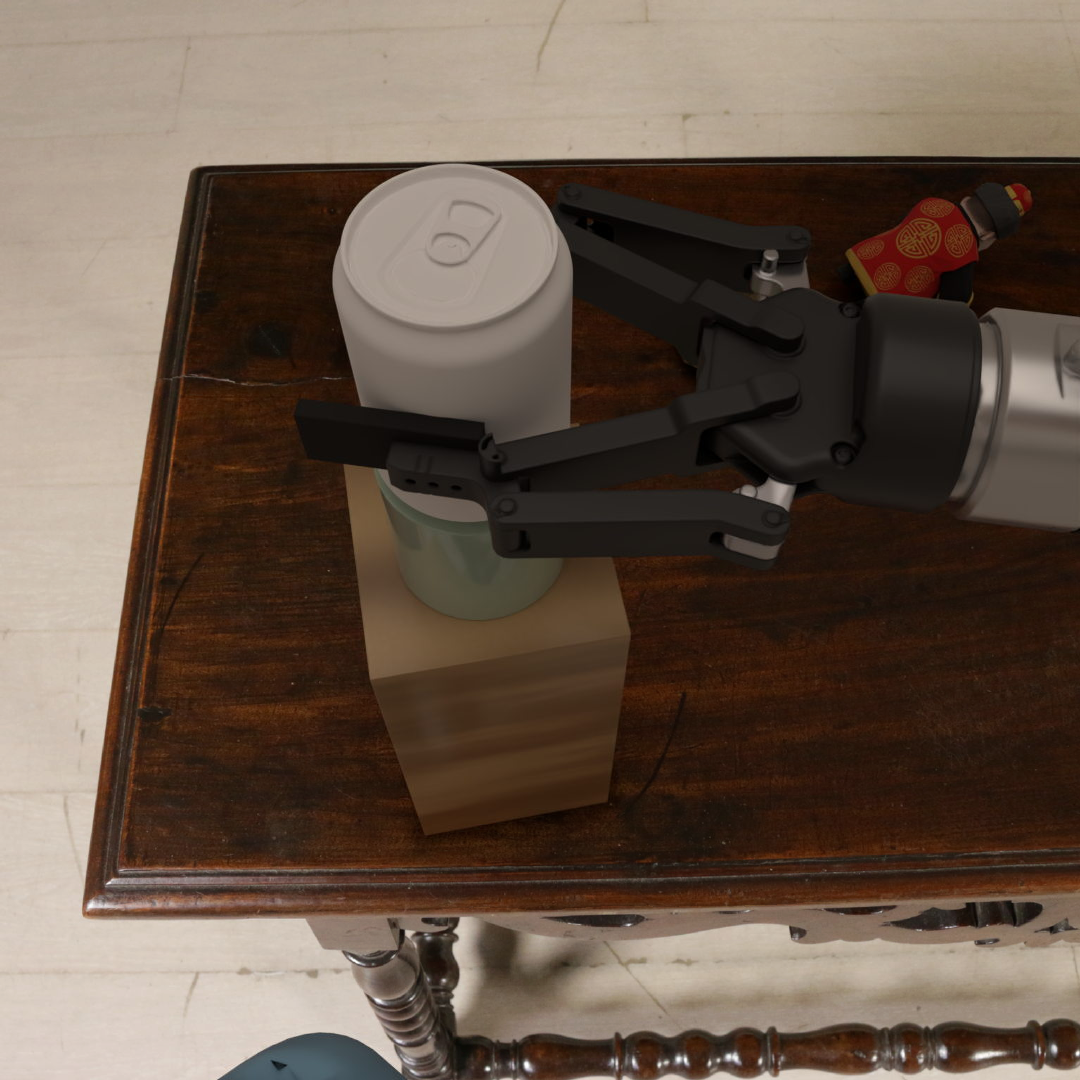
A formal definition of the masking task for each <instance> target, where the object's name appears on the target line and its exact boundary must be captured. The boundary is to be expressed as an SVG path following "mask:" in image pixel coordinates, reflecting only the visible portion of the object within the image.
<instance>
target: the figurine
mask: <svg viewBox="0 0 1080 1080" xmlns="http://www.w3.org/2000/svg"><path fill="white" fill-rule="evenodd" d="M972 194H973V195H972V197H971V196H966V197H964V198H963V199H962V200H961V201H960V203H959V202H958V201H956V202H954V203H953V202H951V201H949V200H947V199H943V198H938V197H932V196H931V197H927V198H924V199H923V200H921V201H919V202H918V203H917V204H915V205H914V206H912V207H911V208H910V209H908V210H907V211H906V212H904V213H903V214H902V215H901V217H900V218H899V220H898V222H897V224H896V226H895V227H894V228H892V229H890V230H886V231H885V232H882V233H880V234H877V235H874V236H872V237H869V238H867V239H864V240H862V241H860V242H858V243H856V244H854V245H853V246H851V247H850V248H848V249H847V250H846V251H845V253H844V255H845V258H846V259H847V260H848V261H849V263H844V264H841V265H840V266H838V267H836V268H835V271H836V273H837V274H838V277H839V279H840V280H841V283H842V284H843V285H844V286H845V287H849V286H851V285H853V284H854V283H855V282H856V278H857V280H858V283H859V285H860V287H861V289H862V291H863V293H864V295H865V298H868V297H869V296H871V295H873V294H876V293H890V294H899V295H907V296H916V297H924V298H932V299H933V297H934V296H935V295H936V294H937V295H936V298H935V299H941V300H949V301H958V302H964V303H966V304H967V305H968V306H969V307H970V306H971V304H972V302H973V300H974V294H975V293H974V278H975V277H974V276H975V275H974V273H975V264H976V263H978V262H979V260H980V257H979V252H980V251H984V250H986V249H988V248H990V246H991V245H993V243H994V242H995V241H996V240H999V241H1000V240H1004V239H1006V238H1008V237H1011V236H1013V235H1015V234H1016V233H1017V232H1018V231H1019V228H1020V223H1021V217H1022V216H1024V215H1025V214H1026V213H1027V212H1029V211H1030V210H1031V208H1032V207H1033V206H1032V205H1033V198H1032V195H1031V191H1030V190H1029V189H1028V188H1027V186H1025V185H1024V184H1023V183H1012V184H1010V185H1006V186H1005V187H1004V186H1003V185H1002V184H1000V183H998V182H995V181H994V182H987V181H986V182H985V183H983V184H982V185H980V186H979V187H978V188H976V189H975V190H973V193H972Z"/></svg>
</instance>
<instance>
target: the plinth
mask: <svg viewBox="0 0 1080 1080" xmlns="http://www.w3.org/2000/svg"><path fill="white" fill-rule="evenodd" d="M577 426H581V425H580V423H579V422H576V423H570V428H572V427H577ZM343 472H344V480H345V489H346V496H347V504H348V505H347V506H348V513H349V523H350V528H351V529H350V530H351V537H352V546H353V553H354V563H355V570H356V571H355V572H356V578H357V585H358V596H359V602H360V603H359V604H360V611H361V621H362V627H363V636H364V644H365V651H366V660H367V668H368V676H369V681H370V684H371V687H372V690H373V693H374V695H375V699H376V701H377V704H378V706H379V710H380V712H381V715H382V718H383V721H384V724H385V727H386V730H387V732H388V735H389V738H390V741H391V744H392V747H393V749H394V752H395V754H396V758H397V761H398V763H399V764H398V765H399V766H400V769H401V772H402V775H403V777H404V781H405V783H406V786H407V789H408V792H409V795H410V798H411V800H412V804H413V806H414V809H415V812H416V814H417V818H418V820H419V823H420V827H421V829H422V832H423V835H424V836H427V837H428V836H430V835H436V834H442V833H443V834H444V833H447V832H454V831H458V830H464V829H470V828H475V827H479V826H486V825H492V824H496V823H501V822H507V821H513V820H518V819H523V818H528V817H534V816H539V815H545V814H551V813H557V812H561V811H567V810H572V809H577V808H582V807H588V806H593V805H599V804H603V803H604V804H605V803H608V800H609V793H610V786H611V780H612V772H613V765H614V757H615V751H616V744H617V736H618V729H619V722H620V715H621V708H622V700H623V694H624V687H625V681H626V673H627V666H628V659H629V652H630V651H629V650H630V644H631V638H632V631H631V627H630V625H629V624H630V623H629V619H628V615H627V612H626V607H625V603H624V599H623V596H622V591H621V586H620V584H619V579H618V575H617V570H616V566H615V562H614V557H583V558H565V560H564V563H563V566H562V569H561V571H560V573H559V575H558V577H557V579H556V580H555V582H554V583H553V585H552V586H551V587H550V588H549V589H548V591H547V592H546V593H545V594H544V595H543V596H542V597H540V598H539V599H538V600H537V601H536V602H534V603H533V604H531V605H530V606H528V607H527V608H525V609H523V610H521V611H519V612H517V613H514V614H511V615H508V616H506V617H501V618H497V619H490V620H466V619H459V618H455V617H452V616H448V615H446V614H443V613H440V612H438V611H436V610H434V609H433V608H431V607H429V606H428V605H426V604H425V603H423V602H422V601H421V600H419V599H418V598H417V597H416V596H415V595H414V594H413V593H412V592H411V590H410V589H409V588H408V586H407V585H406V584H405V582H404V580H403V578H402V576H401V574H400V572H399V569H398V567H397V563H396V559H395V555H394V550H393V546H392V542H391V538H390V534H389V530H388V526H387V522H386V518H385V514H384V510H383V506H382V502H381V498H380V493H379V489H378V485H377V481H376V477H375V473H374V468H369V467H362V466H355V465H347V464H343ZM594 491H597V490H594Z"/></svg>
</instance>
